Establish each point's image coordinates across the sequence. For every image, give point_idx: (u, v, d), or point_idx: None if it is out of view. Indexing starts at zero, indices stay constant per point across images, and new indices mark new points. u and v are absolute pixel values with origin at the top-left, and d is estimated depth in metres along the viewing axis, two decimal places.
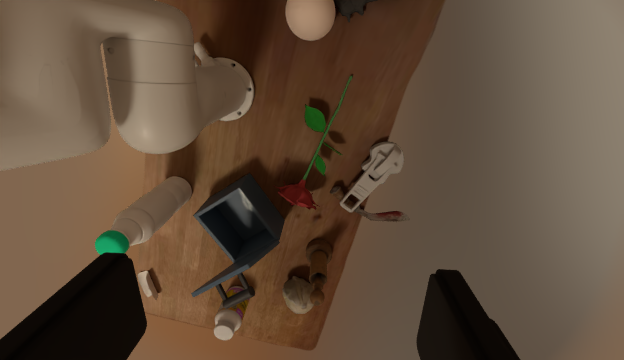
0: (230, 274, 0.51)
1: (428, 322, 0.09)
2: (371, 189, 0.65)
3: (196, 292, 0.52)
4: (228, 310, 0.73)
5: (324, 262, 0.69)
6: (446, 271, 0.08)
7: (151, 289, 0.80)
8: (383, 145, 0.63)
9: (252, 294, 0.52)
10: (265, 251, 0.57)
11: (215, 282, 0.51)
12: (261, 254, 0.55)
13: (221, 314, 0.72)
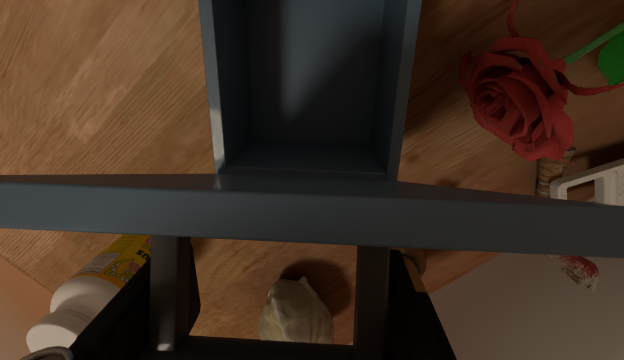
0: (402, 214, 0.05)
1: None
2: None
3: None
4: (111, 287, 0.25)
5: None
6: None
7: None
8: None
9: None
10: None
11: (196, 206, 0.05)
12: None
13: (84, 289, 0.24)
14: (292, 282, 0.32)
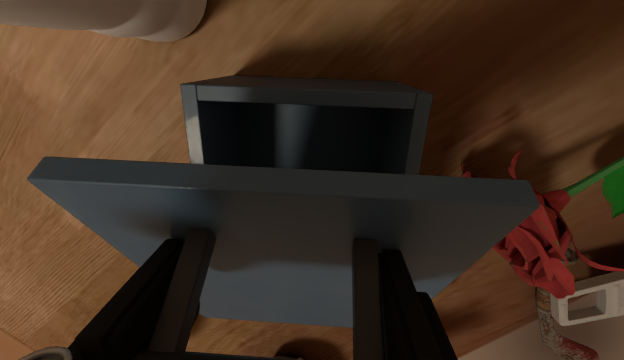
0: (376, 180, 0.07)
1: None
2: None
3: (78, 165, 0.08)
4: None
5: None
6: (389, 250, 0.09)
7: None
8: None
9: None
10: None
11: (245, 173, 0.08)
12: None
13: None
14: None
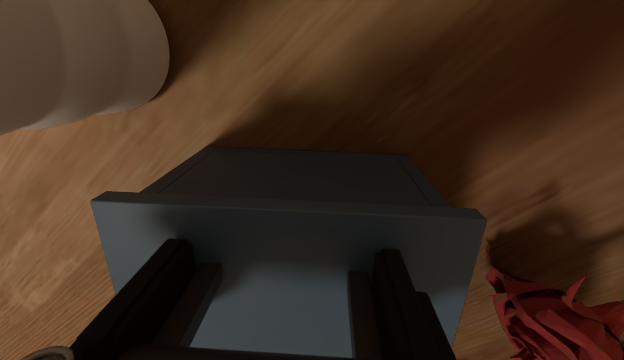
0: (361, 206, 0.10)
1: (373, 297, 0.10)
2: None
3: (132, 195, 0.10)
4: None
5: None
6: (388, 250, 0.09)
7: None
8: None
9: None
10: None
11: (261, 201, 0.10)
12: None
13: None
14: None
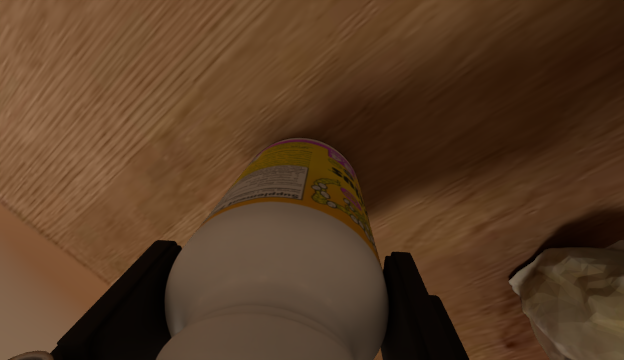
0: None
1: None
2: None
3: None
4: (352, 236, 0.08)
5: None
6: (398, 253, 0.09)
7: None
8: None
9: None
10: None
11: None
12: None
13: (292, 238, 0.07)
14: (618, 250, 0.15)
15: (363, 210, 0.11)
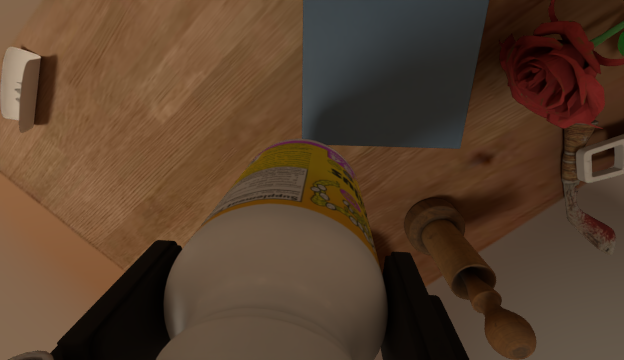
0: None
1: None
2: None
3: None
4: (351, 238, 0.08)
5: None
6: (398, 253, 0.09)
7: (24, 100, 0.31)
8: None
9: None
10: None
11: None
12: None
13: (292, 240, 0.07)
14: None
15: (362, 211, 0.11)
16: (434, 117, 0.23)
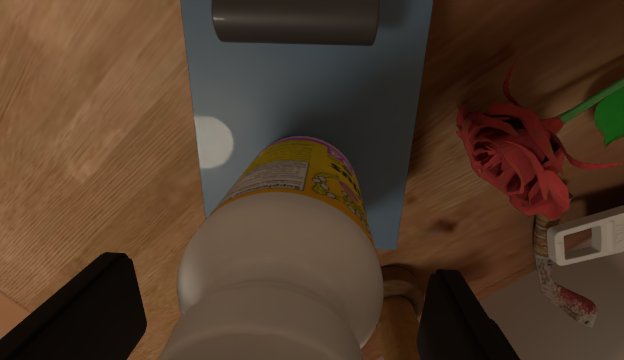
0: None
1: (428, 322, 0.09)
2: None
3: None
4: (349, 223, 0.09)
5: None
6: (446, 271, 0.08)
7: None
8: None
9: None
10: None
11: None
12: None
13: (295, 223, 0.08)
14: None
15: (360, 203, 0.12)
16: None
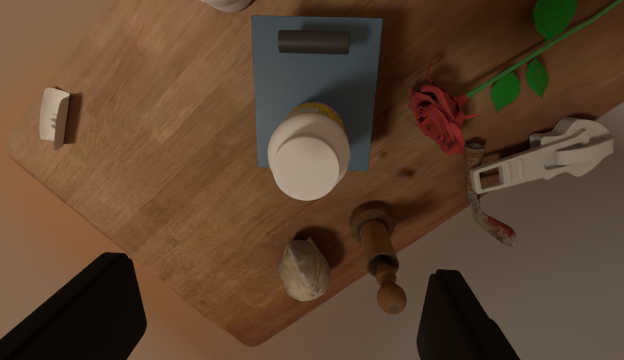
0: None
1: (428, 322, 0.09)
2: (531, 177, 0.39)
3: (263, 16, 0.29)
4: (336, 124, 0.23)
5: None
6: (446, 271, 0.08)
7: (58, 127, 0.41)
8: (595, 124, 0.38)
9: (349, 38, 0.25)
10: None
11: (308, 17, 0.29)
12: None
13: (316, 120, 0.22)
14: (302, 240, 0.46)
15: (343, 127, 0.26)
16: None
